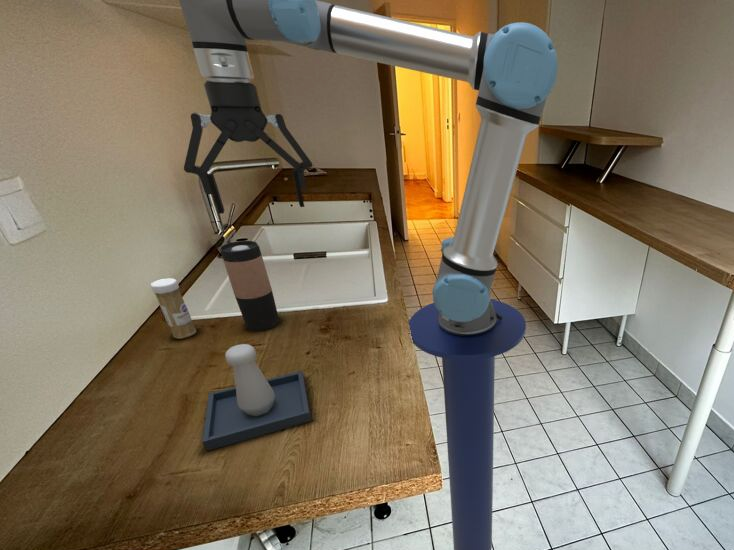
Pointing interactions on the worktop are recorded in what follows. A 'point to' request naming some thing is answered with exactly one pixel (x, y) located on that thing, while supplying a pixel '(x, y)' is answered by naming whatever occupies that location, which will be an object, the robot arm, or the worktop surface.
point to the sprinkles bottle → (173, 307)
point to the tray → (236, 425)
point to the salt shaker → (249, 381)
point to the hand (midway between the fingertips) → (263, 208)
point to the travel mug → (250, 284)
